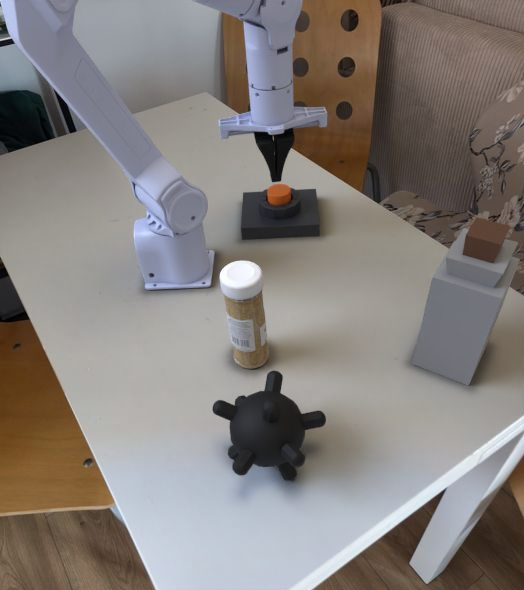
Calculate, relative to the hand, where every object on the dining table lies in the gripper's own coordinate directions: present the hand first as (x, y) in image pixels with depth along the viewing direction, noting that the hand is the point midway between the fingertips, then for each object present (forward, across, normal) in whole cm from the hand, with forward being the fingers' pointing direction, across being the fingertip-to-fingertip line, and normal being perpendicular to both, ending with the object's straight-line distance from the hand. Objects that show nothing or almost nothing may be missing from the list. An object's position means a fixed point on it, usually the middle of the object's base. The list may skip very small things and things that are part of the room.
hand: (275, 178), depth 76 cm
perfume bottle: (+8, +17, -31) cm, 36 cm away
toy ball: (+8, -7, -41) cm, 42 cm away
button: (+5, +1, +2) cm, 5 cm away
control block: (+8, 0, +2) cm, 8 cm away
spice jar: (+8, -7, -27) cm, 29 cm away
